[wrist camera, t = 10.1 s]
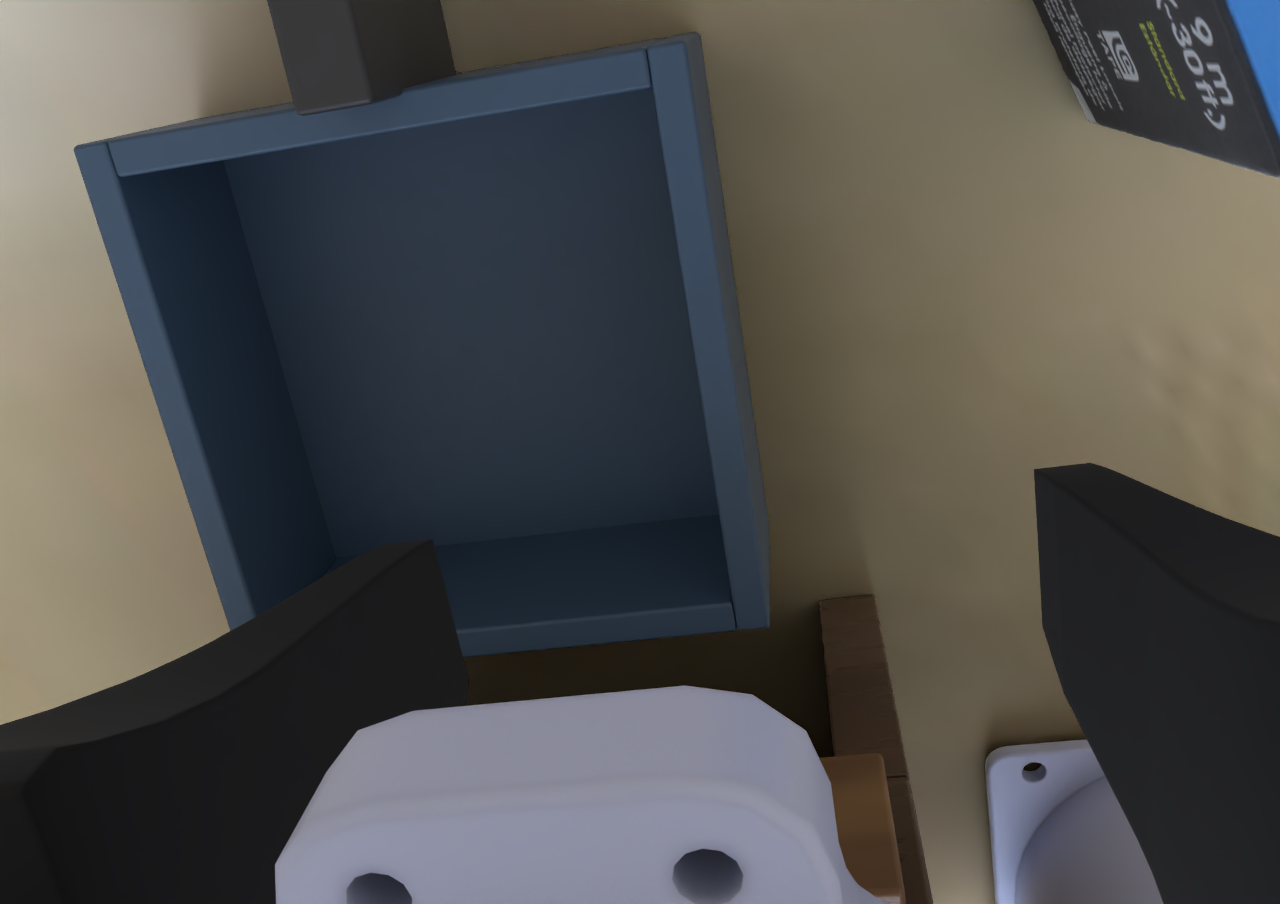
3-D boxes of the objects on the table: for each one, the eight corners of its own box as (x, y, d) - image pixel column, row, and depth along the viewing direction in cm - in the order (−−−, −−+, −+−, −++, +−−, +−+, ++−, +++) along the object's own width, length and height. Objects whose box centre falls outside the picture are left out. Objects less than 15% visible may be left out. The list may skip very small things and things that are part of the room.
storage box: (648, -341, 19) (602, -475, 14) (769, 523, 25) (771, 674, 19) (98, -218, 21) (-141, -296, 15) (326, 572, 26) (210, 726, 21)
